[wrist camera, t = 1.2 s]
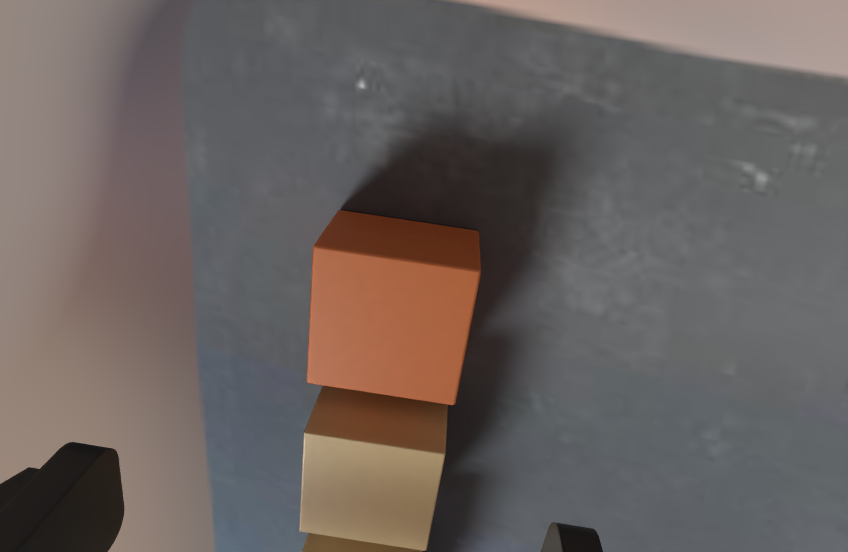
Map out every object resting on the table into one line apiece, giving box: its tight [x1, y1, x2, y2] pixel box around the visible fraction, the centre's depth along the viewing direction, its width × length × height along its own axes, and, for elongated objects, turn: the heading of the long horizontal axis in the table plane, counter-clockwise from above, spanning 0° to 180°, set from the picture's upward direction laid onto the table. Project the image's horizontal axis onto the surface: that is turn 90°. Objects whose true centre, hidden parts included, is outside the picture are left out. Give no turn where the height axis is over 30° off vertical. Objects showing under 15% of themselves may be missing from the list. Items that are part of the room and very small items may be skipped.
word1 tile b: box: [299, 385, 448, 551], centre depth 20 cm, size 5×5×3 cm
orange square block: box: [307, 210, 481, 405], centre depth 17 cm, size 5×5×3 cm
